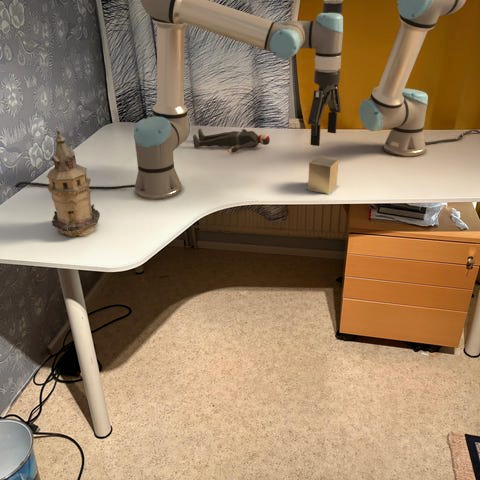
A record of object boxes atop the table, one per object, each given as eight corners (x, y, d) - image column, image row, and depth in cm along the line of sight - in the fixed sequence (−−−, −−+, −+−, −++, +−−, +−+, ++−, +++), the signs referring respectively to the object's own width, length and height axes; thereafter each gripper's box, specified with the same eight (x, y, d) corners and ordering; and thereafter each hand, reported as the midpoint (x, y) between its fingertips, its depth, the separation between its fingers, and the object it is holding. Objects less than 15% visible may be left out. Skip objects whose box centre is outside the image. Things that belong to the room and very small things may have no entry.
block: (336, 186, 180) (338, 159, 175) (328, 194, 174) (330, 166, 170) (316, 182, 183) (317, 155, 178) (307, 190, 177) (309, 162, 173)
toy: (204, 122, 226) (274, 122, 220) (205, 136, 229) (274, 137, 223) (186, 142, 204) (264, 143, 198) (188, 157, 207) (264, 159, 201)
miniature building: (80, 214, 164) (63, 117, 149) (111, 225, 157) (96, 125, 142) (44, 231, 154) (22, 130, 140) (75, 244, 147) (55, 139, 133)
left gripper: (331, 61, 170) (327, 126, 180) (298, 77, 151) (295, 148, 162) (354, 62, 166) (348, 129, 177) (322, 79, 148) (319, 152, 158)
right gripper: (335, -2, 217) (331, 53, 228) (311, 5, 198) (308, 64, 209) (353, -1, 214) (348, 54, 224) (330, 6, 195) (326, 66, 205)
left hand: (323, 138), depth 169 cm, fingers open, 13 cm apart
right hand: (329, 59), depth 217 cm, fingers open, 13 cm apart
